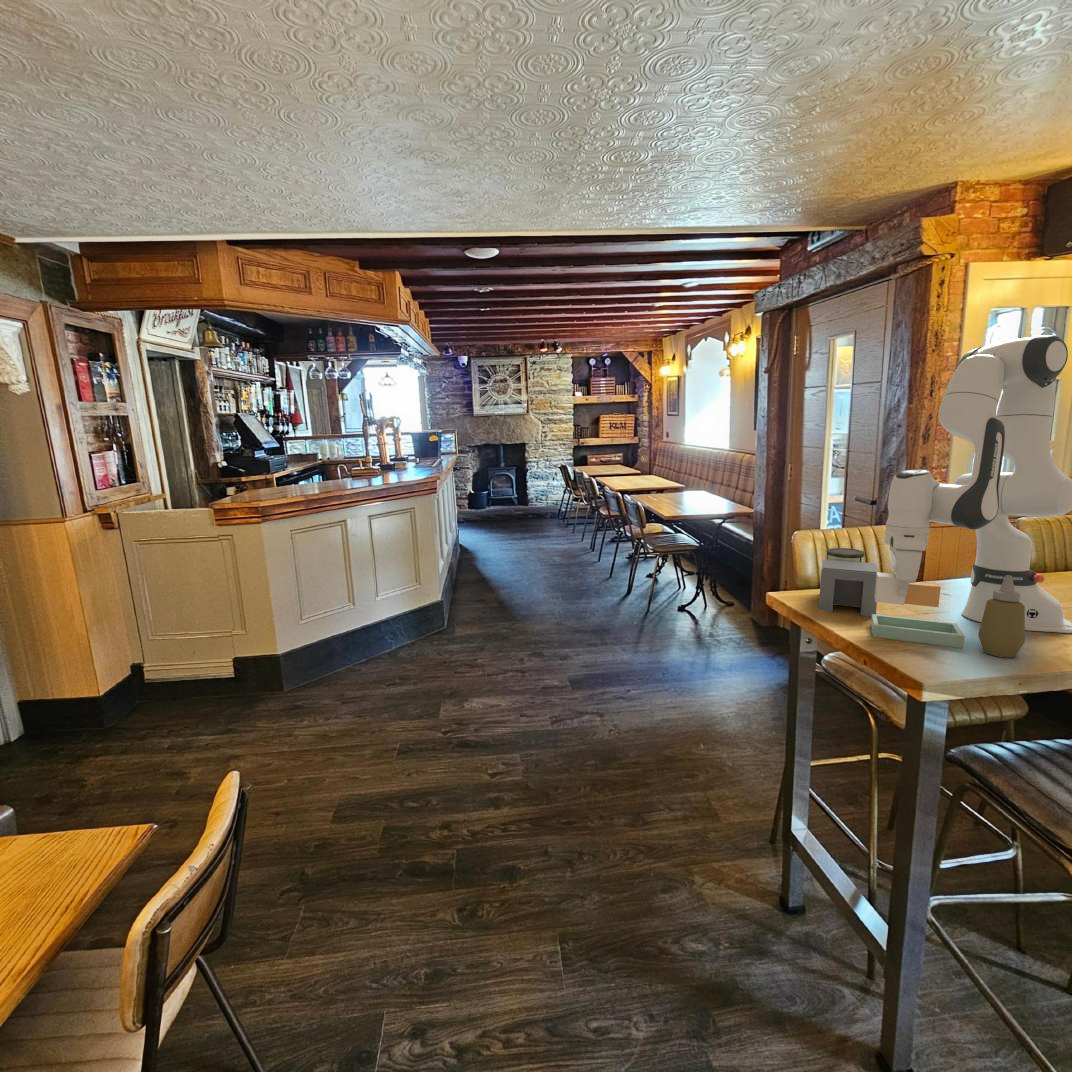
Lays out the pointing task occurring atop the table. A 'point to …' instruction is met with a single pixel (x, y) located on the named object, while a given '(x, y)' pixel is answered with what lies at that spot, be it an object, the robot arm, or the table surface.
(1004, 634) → the squeeze bottle
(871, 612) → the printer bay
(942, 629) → the tray
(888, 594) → the two-tone block
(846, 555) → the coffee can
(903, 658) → the table surface
